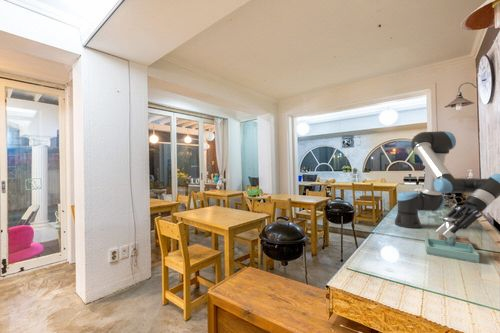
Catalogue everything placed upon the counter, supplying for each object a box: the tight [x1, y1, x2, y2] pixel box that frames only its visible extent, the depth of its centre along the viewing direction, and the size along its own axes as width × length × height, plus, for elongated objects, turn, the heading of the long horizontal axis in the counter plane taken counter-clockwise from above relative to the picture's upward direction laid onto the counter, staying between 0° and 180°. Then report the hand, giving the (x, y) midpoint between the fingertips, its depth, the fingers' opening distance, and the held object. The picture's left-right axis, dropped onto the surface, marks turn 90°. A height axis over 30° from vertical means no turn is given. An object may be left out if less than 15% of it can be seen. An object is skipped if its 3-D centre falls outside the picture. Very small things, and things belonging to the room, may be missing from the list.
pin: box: [442, 216, 459, 246], centre depth 111 cm, size 6×6×13 cm
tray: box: [424, 237, 480, 264], centre depth 111 cm, size 18×16×4 cm
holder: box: [438, 234, 474, 247], centre depth 123 cm, size 12×12×3 cm
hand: (441, 234), depth 111 cm, fingers closed on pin, 4 cm apart
